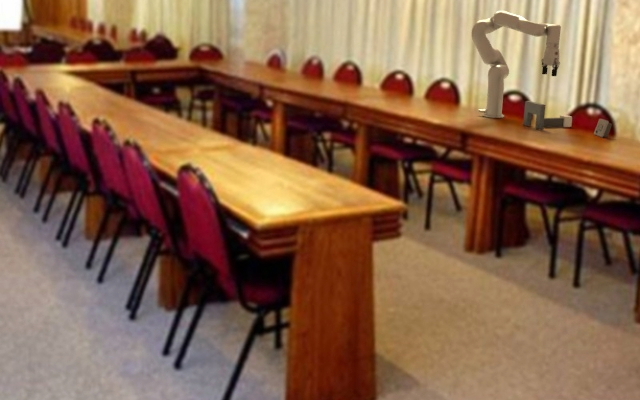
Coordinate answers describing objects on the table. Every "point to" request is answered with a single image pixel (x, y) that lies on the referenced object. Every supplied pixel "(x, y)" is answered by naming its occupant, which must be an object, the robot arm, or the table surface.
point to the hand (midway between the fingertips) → (549, 75)
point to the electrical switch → (602, 128)
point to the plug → (558, 121)
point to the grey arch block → (534, 109)
